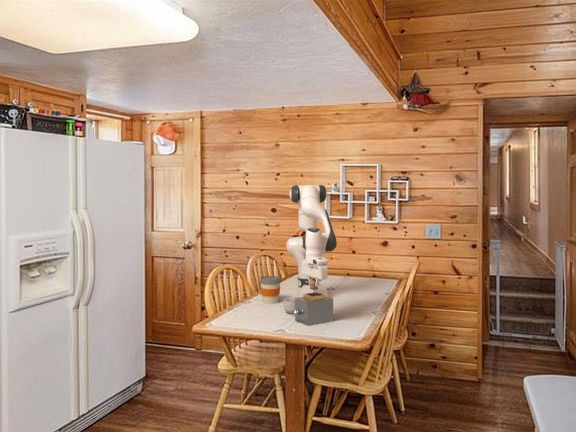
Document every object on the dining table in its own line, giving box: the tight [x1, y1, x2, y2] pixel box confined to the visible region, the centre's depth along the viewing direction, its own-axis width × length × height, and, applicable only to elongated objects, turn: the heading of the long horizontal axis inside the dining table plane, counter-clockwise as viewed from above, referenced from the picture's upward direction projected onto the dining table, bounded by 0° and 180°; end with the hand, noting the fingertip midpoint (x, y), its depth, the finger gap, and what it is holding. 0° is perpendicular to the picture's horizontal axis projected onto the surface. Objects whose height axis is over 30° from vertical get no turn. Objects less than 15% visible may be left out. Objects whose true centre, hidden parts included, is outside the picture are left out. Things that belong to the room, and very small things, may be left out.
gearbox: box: [292, 292, 334, 327], centre depth 270 cm, size 19×12×14 cm, turn 120°
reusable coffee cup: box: [259, 275, 282, 305], centre depth 312 cm, size 13×13×15 cm
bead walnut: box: [310, 280, 318, 290], centre depth 270 cm, size 4×4×4 cm
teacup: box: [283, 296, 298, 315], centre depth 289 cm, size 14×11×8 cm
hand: (313, 285), depth 270 cm, fingers closed on bead walnut, 4 cm apart
